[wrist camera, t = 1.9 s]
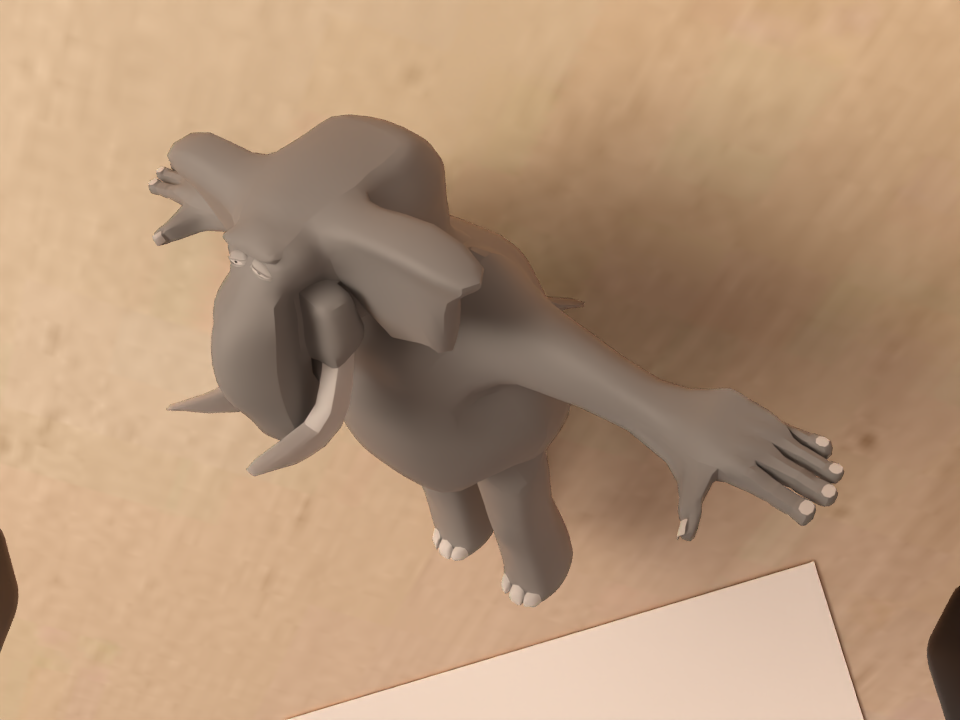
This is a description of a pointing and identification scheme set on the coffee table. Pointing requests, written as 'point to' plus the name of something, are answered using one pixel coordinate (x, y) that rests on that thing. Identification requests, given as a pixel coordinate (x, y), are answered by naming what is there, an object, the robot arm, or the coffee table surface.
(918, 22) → the coffee table surface
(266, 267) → the elephant figurine
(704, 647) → the cream square coaster
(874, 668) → the coffee table surface
